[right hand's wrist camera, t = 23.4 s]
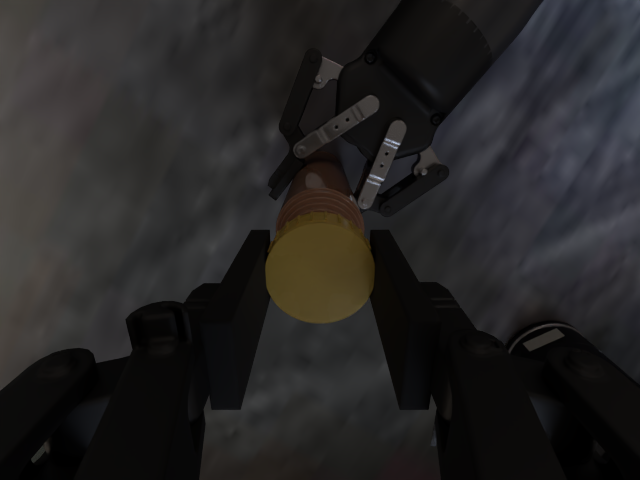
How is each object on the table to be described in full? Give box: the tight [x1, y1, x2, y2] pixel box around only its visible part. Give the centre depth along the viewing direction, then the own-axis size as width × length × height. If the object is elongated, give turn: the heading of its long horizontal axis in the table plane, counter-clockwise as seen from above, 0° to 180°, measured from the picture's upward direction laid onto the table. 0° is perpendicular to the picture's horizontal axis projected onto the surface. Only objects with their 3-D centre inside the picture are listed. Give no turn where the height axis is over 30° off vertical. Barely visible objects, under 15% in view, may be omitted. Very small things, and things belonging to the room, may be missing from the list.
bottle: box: [276, 151, 364, 235], centre depth 24 cm, size 5×5×21 cm
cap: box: [265, 211, 375, 323], centre depth 14 cm, size 4×4×2 cm
